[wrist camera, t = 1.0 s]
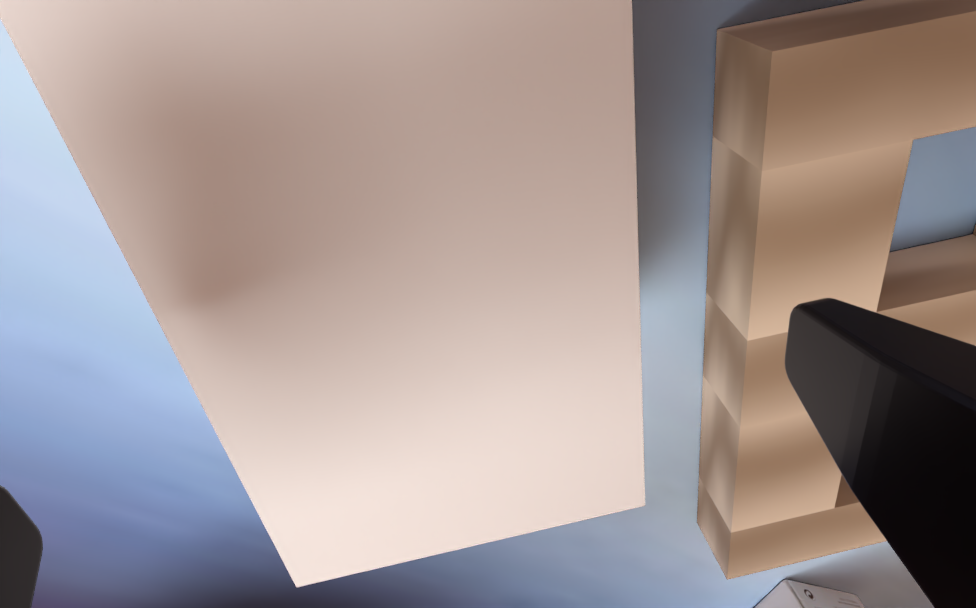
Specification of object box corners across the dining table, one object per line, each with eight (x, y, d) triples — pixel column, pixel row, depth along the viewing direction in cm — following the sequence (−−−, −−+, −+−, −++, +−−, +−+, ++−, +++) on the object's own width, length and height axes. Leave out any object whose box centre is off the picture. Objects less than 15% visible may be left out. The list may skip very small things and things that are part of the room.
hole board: (989, 453, 26) (1044, 502, 24) (697, 522, 25) (726, 579, 23) (1188, -64, 16) (1310, -56, 14) (717, 29, 15) (772, 51, 13)
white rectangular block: (562, 324, 19) (645, 505, 13) (316, 378, 18) (296, 587, 13) (506, -208, 12) (624, -285, 7) (119, -140, 12) (-94, -163, 6)
